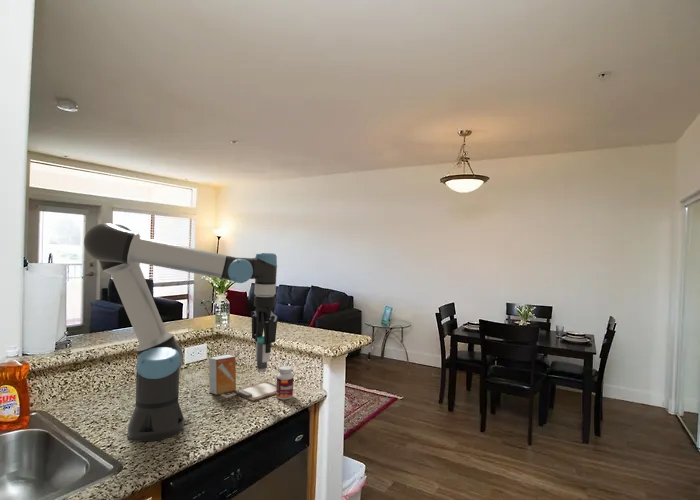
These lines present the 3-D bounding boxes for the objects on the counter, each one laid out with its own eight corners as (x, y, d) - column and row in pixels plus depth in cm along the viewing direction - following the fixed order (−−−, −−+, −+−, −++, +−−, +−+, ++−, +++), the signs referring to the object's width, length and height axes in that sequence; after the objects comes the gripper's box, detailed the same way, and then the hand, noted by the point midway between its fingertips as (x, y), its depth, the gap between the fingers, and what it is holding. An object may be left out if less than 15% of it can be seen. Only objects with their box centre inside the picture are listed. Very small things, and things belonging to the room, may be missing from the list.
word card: (226, 397, 145) (226, 396, 145) (218, 394, 148) (218, 393, 148) (242, 392, 150) (242, 391, 150) (234, 389, 154) (234, 388, 154)
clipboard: (252, 401, 142) (252, 398, 142) (232, 392, 150) (232, 388, 150) (286, 390, 154) (286, 387, 154) (265, 382, 163) (266, 379, 163)
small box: (216, 395, 145) (215, 359, 146) (209, 392, 150) (208, 357, 151) (236, 390, 151) (235, 355, 152) (228, 387, 156) (228, 354, 157)
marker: (261, 372, 139) (262, 339, 139) (254, 370, 141) (255, 337, 141) (269, 370, 142) (269, 337, 142) (262, 368, 144) (262, 335, 144)
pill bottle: (279, 401, 143) (280, 371, 143) (273, 395, 149) (274, 366, 149) (295, 398, 147) (296, 369, 147) (289, 393, 152) (289, 364, 152)
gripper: (287, 297, 140) (285, 363, 139) (259, 292, 150) (257, 354, 150) (271, 298, 134) (268, 367, 134) (243, 293, 144) (240, 357, 144)
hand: (262, 360), depth 142 cm, fingers closed on marker, 3 cm apart
